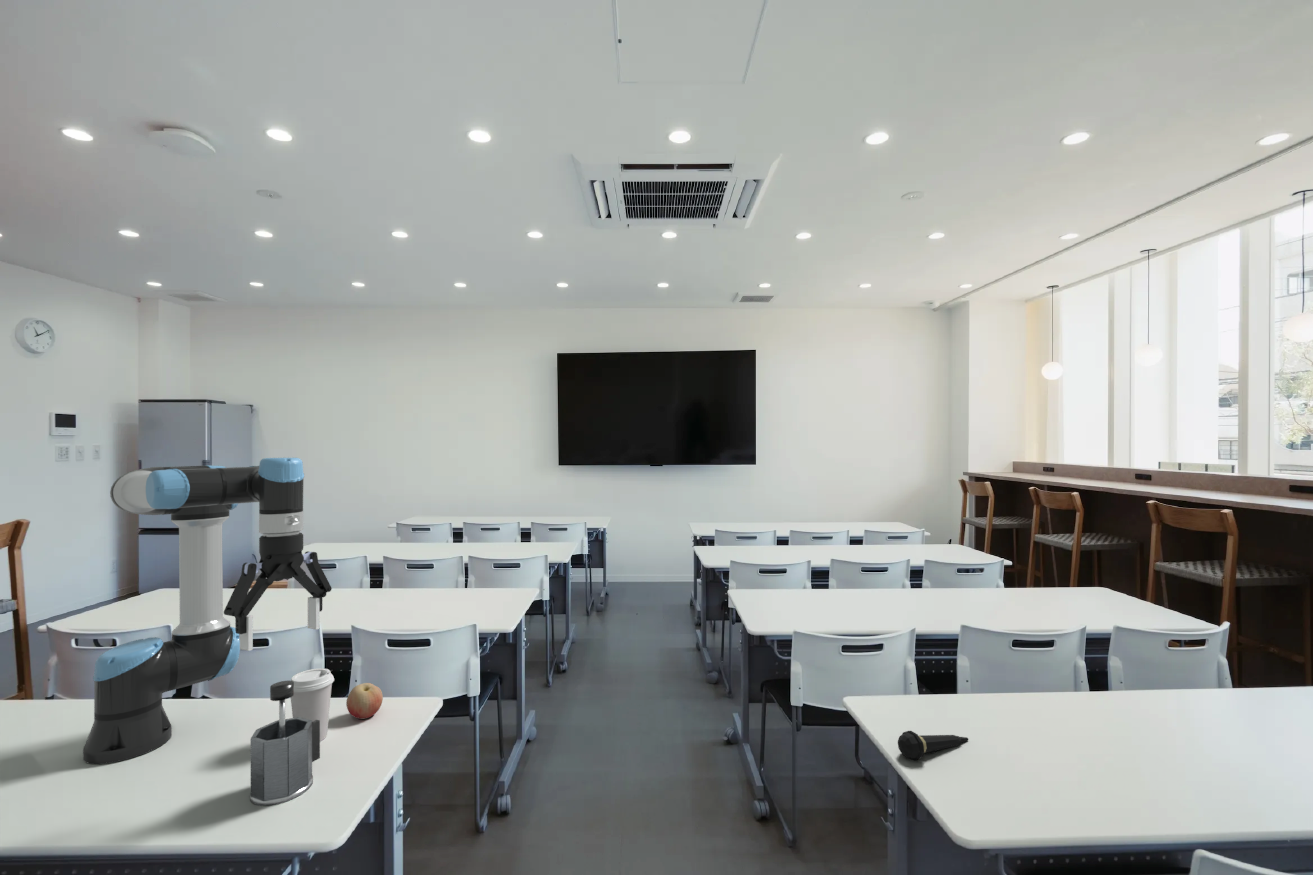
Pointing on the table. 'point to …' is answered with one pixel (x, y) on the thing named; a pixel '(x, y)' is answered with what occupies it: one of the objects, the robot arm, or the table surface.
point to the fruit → (364, 700)
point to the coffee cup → (313, 697)
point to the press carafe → (283, 760)
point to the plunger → (281, 700)
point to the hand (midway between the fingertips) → (281, 638)
